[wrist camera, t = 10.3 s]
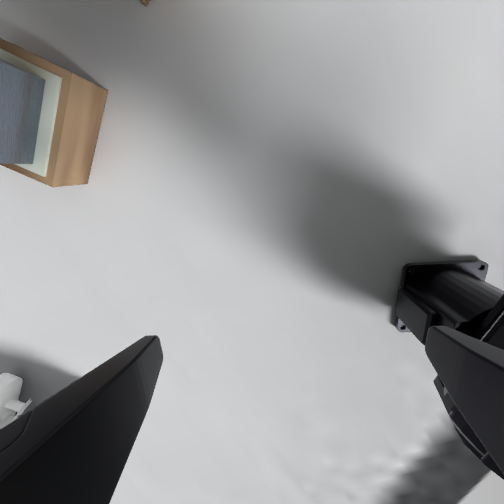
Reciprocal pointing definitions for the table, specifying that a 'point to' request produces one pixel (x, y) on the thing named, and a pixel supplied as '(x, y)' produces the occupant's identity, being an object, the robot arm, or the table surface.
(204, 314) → the table surface
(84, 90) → the stand
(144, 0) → the stand
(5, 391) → the cable organizer
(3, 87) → the plate
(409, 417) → the table surface
